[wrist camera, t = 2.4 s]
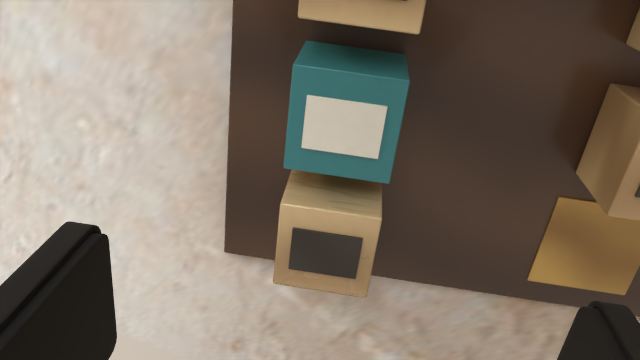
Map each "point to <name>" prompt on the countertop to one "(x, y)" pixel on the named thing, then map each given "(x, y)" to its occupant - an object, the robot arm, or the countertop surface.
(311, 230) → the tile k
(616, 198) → the tile
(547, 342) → the countertop surface
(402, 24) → the light wood cube
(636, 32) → the tile
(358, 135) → the tile
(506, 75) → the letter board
